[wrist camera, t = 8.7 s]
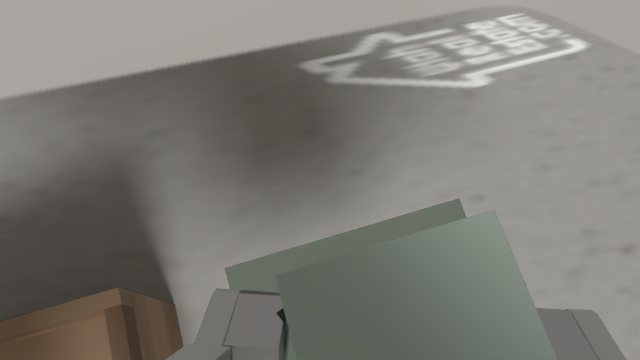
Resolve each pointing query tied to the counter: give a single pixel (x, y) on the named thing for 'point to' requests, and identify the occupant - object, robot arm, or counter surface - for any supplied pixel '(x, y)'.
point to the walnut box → (94, 330)
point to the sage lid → (404, 292)
